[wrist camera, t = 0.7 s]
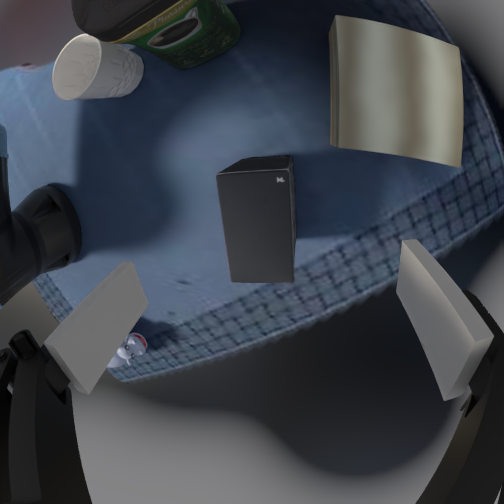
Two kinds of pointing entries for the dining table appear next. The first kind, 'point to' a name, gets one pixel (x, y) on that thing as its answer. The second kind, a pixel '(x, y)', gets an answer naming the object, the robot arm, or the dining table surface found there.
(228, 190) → the small box
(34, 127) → the dining table surface
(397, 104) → the plinth
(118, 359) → the hippopotamus toy
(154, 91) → the dining table surface
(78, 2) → the coffee jar
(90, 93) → the white cup
